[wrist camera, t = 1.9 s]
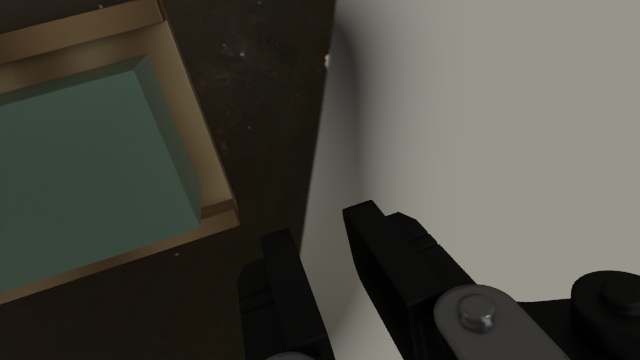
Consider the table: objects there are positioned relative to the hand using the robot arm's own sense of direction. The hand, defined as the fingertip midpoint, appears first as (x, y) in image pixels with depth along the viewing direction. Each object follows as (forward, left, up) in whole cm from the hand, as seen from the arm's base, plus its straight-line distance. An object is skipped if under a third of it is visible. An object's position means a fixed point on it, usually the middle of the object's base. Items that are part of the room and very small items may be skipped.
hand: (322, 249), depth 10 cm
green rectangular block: (-6, -8, -16) cm, 18 cm away
